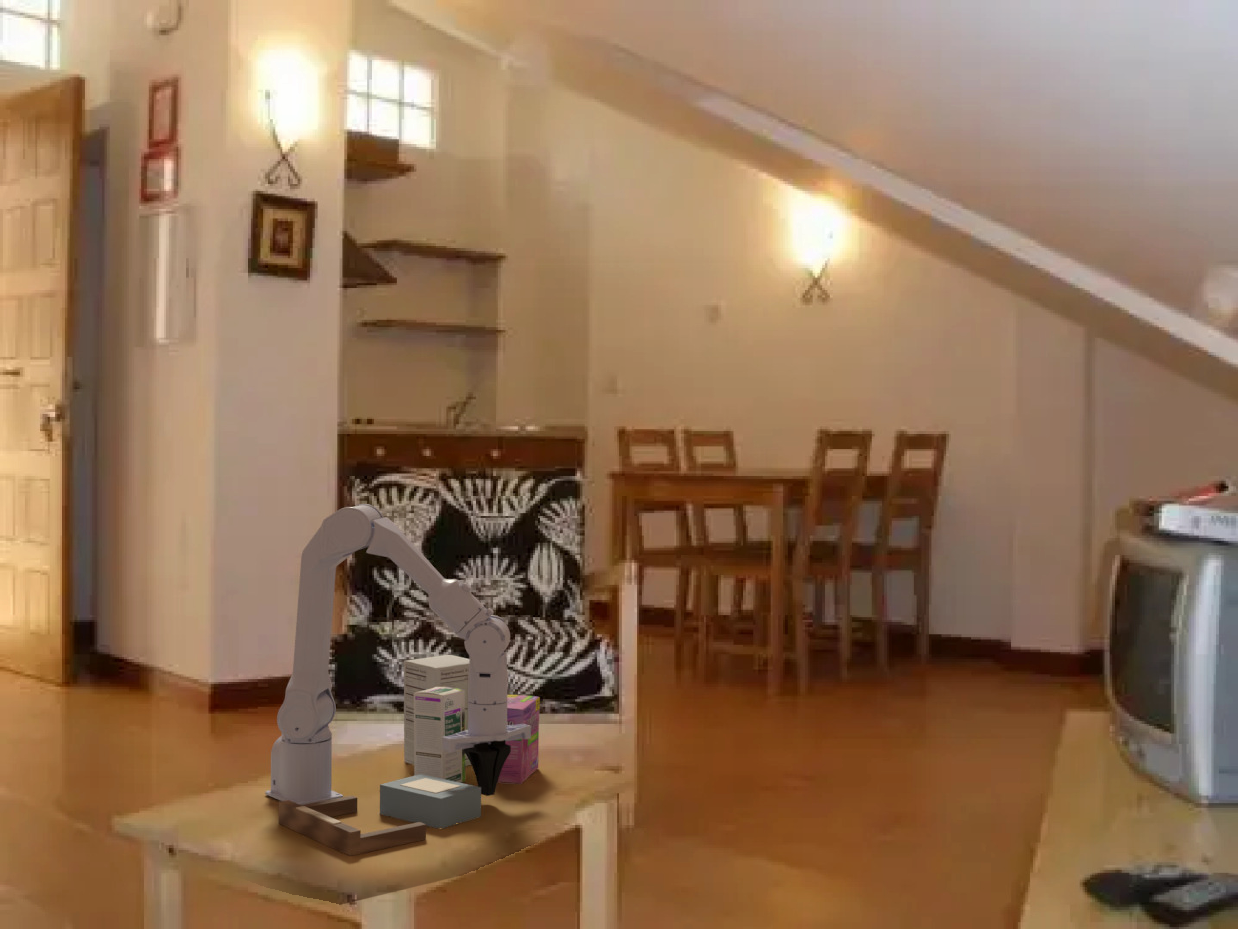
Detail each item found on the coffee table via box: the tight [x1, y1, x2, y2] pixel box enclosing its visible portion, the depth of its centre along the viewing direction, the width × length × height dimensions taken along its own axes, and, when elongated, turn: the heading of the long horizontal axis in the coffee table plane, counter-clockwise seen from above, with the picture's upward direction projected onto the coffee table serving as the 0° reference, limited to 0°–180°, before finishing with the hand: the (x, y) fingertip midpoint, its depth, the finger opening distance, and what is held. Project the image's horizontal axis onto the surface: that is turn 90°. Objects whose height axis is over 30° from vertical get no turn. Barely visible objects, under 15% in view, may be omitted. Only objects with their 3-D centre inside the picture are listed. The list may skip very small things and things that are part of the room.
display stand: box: [278, 795, 427, 857], centre depth 193 cm, size 19×12×3 cm, turn 41°
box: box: [497, 694, 541, 785], centre depth 225 cm, size 10×6×12 cm, turn 168°
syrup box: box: [413, 687, 466, 783], centre depth 219 cm, size 6×6×14 cm
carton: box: [379, 774, 482, 829], centre depth 201 cm, size 12×8×5 cm, turn 53°
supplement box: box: [403, 654, 472, 767], centre depth 232 cm, size 10×9×17 cm
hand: (486, 794), depth 208 cm, fingers closed
